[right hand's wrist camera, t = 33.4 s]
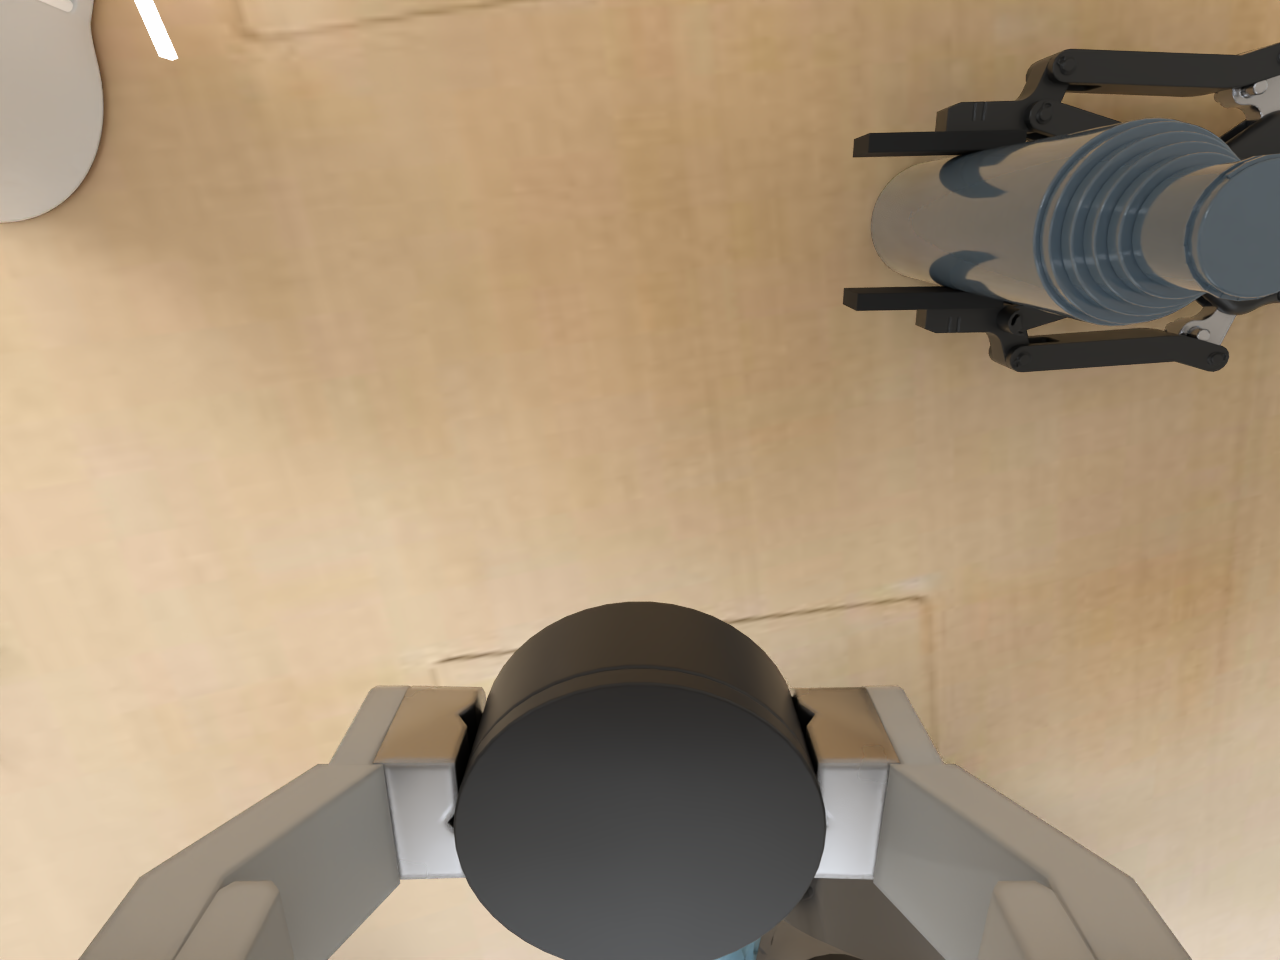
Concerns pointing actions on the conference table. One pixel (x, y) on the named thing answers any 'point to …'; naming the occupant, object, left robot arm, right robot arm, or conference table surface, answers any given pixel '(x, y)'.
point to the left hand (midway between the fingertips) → (856, 224)
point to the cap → (639, 789)
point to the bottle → (1090, 222)
